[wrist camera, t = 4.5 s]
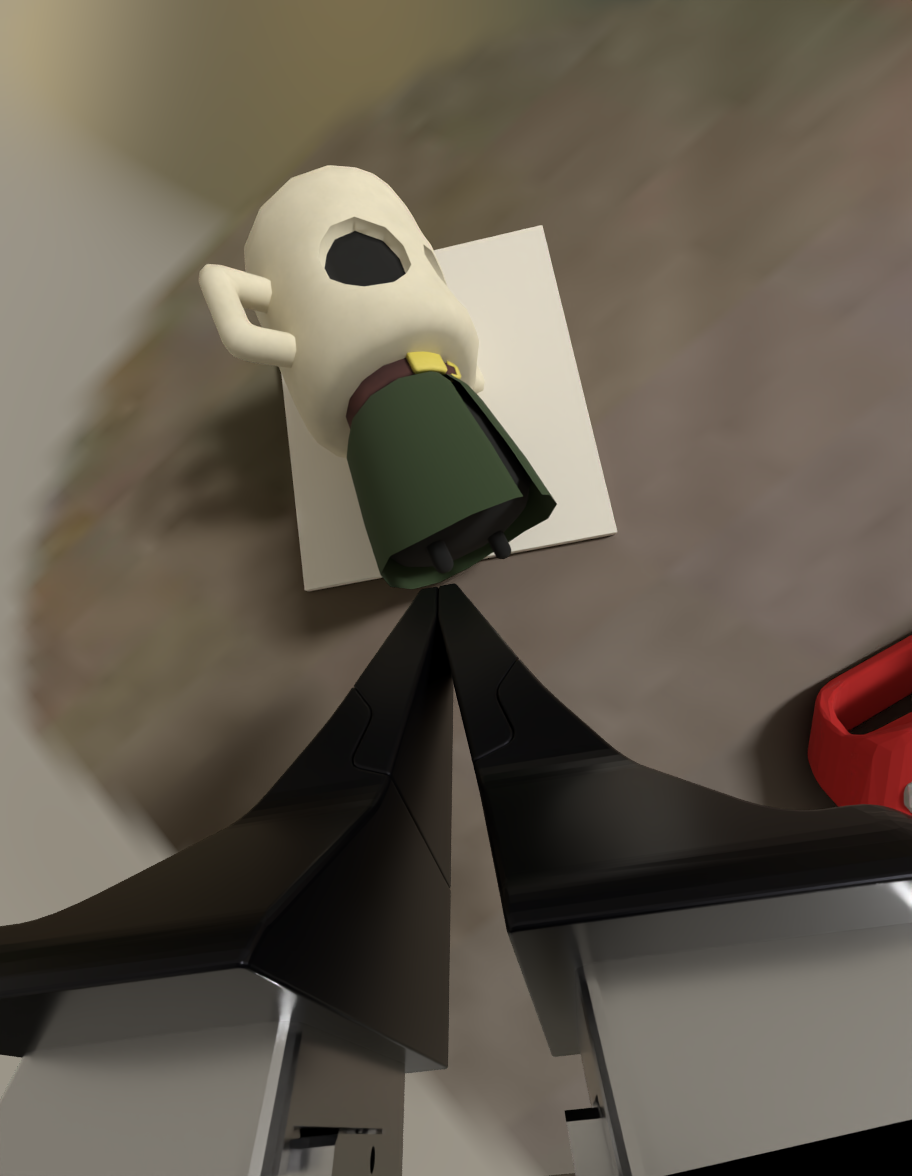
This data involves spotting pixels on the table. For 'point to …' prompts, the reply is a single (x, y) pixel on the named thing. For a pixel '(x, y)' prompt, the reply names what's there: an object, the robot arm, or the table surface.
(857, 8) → the table surface
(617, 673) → the table surface
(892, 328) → the table surface
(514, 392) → the oatmeal mat
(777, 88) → the table surface
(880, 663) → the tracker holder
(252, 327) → the character mug
